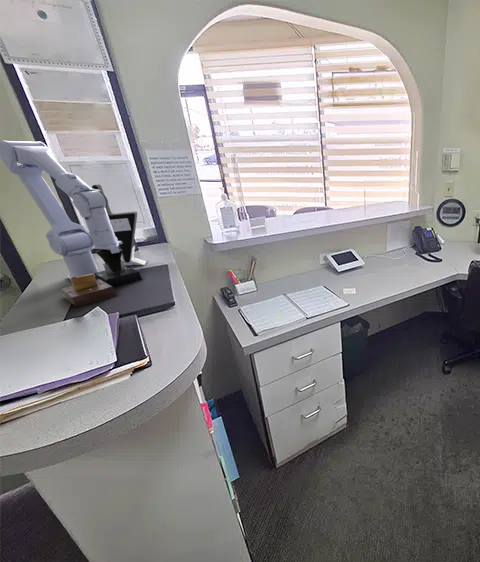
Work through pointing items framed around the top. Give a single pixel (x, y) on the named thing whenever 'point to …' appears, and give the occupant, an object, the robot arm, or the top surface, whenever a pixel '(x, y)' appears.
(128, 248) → the award
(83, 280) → the block
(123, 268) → the block
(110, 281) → the back plate
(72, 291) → the brown wooden base
